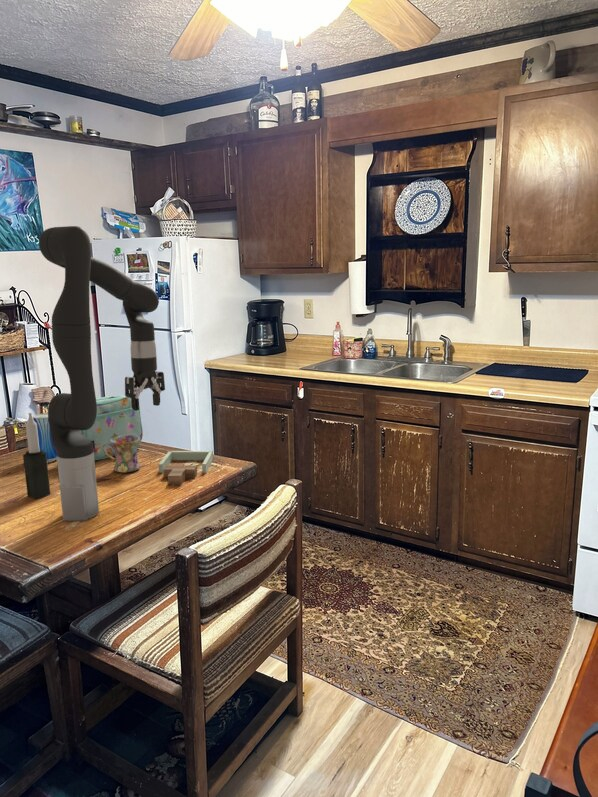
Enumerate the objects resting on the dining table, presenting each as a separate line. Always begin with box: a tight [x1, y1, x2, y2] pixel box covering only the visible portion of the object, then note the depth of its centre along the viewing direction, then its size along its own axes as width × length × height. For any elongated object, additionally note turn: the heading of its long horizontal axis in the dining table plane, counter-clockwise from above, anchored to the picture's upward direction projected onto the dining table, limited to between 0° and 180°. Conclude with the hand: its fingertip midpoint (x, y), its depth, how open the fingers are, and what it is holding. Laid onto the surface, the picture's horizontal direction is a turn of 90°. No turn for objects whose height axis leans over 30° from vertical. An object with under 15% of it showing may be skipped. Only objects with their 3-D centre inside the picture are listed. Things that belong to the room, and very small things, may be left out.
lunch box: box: [80, 394, 144, 461], centre depth 210 cm, size 27×10×21 cm, turn 147°
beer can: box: [32, 412, 57, 463], centre depth 204 cm, size 8×8×16 cm
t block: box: [162, 464, 198, 486], centre depth 185 cm, size 10×10×3 cm
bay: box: [158, 450, 214, 474], centre depth 198 cm, size 14×15×3 cm
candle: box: [22, 412, 51, 500], centre depth 171 cm, size 5×5×25 cm
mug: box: [102, 435, 141, 474], centre depth 193 cm, size 12×9×11 cm
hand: (146, 407), depth 181 cm, fingers open, 8 cm apart
